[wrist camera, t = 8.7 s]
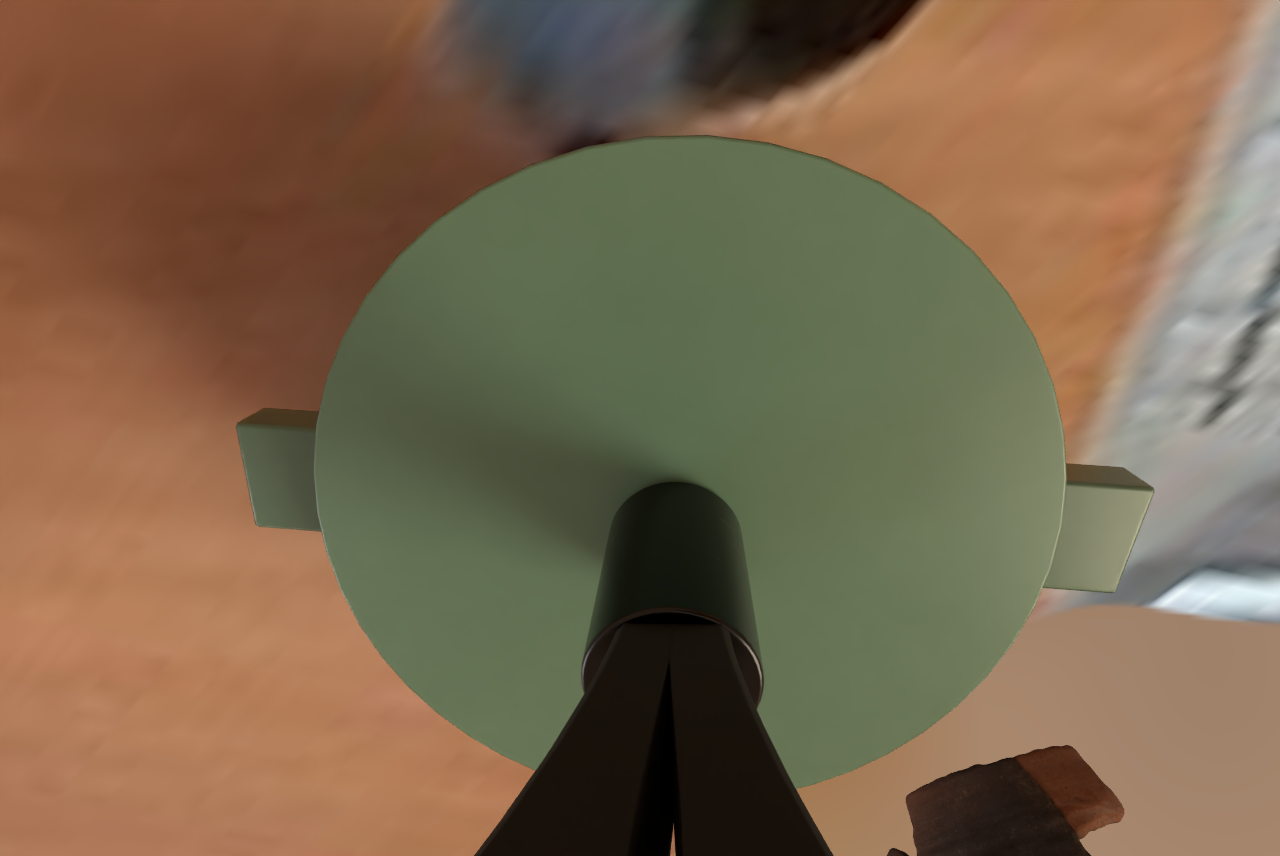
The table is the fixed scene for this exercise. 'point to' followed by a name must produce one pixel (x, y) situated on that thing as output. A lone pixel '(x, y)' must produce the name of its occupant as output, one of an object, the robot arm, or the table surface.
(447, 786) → the table surface
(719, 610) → the lid
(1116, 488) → the pot
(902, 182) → the table surface
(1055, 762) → the pottery mug
